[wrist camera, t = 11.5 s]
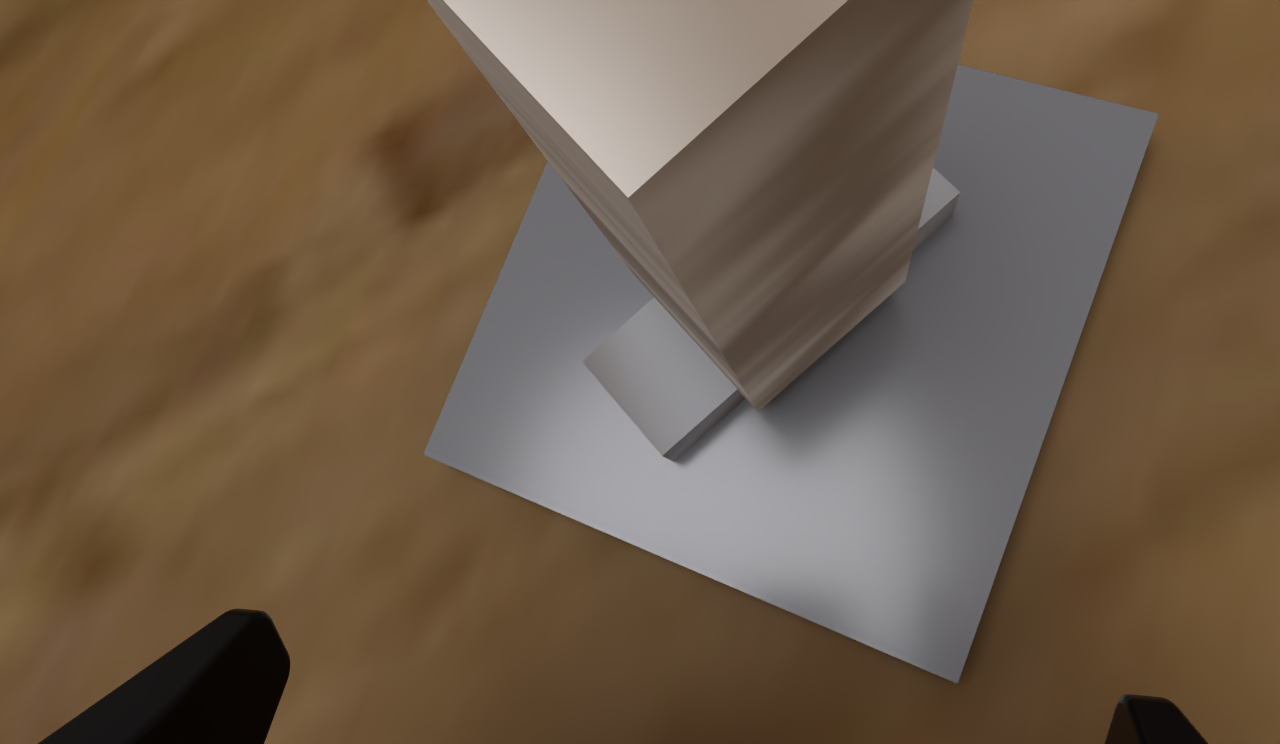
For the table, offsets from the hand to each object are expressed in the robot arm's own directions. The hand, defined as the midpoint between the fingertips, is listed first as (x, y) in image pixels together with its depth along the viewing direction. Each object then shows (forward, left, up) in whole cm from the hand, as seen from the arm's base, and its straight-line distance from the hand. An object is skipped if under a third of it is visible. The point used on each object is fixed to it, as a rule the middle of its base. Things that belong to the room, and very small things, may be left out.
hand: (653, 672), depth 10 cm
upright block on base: (+7, +2, -12) cm, 14 cm away
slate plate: (+7, +2, -14) cm, 16 cm away
